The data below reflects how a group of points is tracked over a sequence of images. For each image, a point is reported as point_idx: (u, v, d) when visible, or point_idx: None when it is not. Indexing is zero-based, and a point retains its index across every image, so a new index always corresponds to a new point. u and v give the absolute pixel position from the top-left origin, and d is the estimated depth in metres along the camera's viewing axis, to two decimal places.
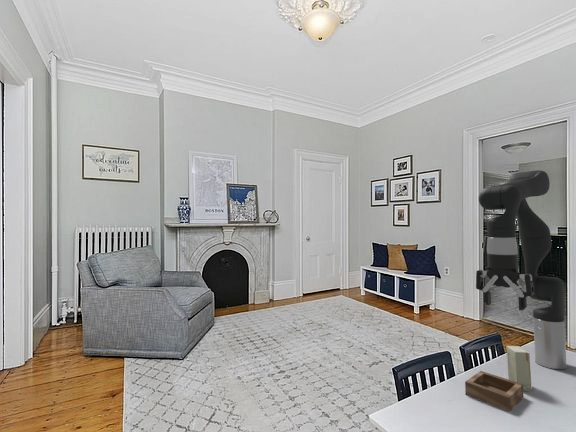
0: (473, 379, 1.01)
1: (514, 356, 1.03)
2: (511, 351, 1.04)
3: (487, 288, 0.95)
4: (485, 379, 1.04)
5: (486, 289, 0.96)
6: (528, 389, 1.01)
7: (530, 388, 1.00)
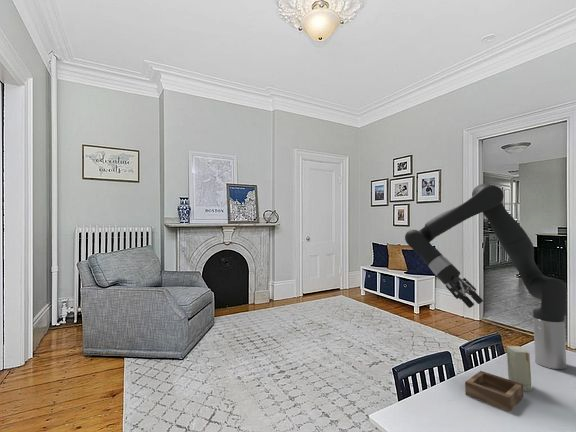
0: (473, 379, 1.01)
1: (514, 356, 1.03)
2: (511, 351, 1.04)
3: None
4: (485, 379, 1.04)
5: None
6: (528, 389, 1.01)
7: (530, 388, 1.00)
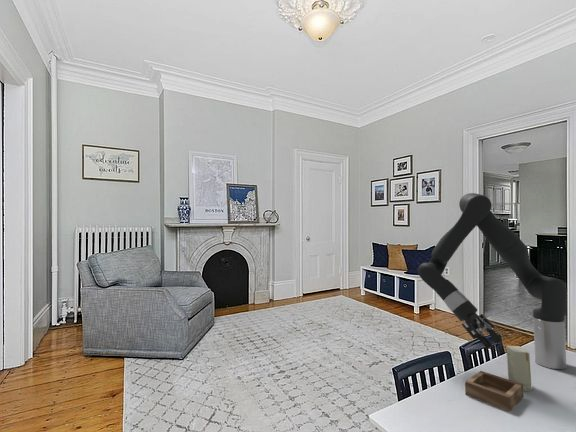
0: (473, 379, 1.01)
1: (514, 356, 1.03)
2: (511, 351, 1.04)
3: None
4: (485, 379, 1.04)
5: None
6: (528, 389, 1.01)
7: (530, 388, 1.00)
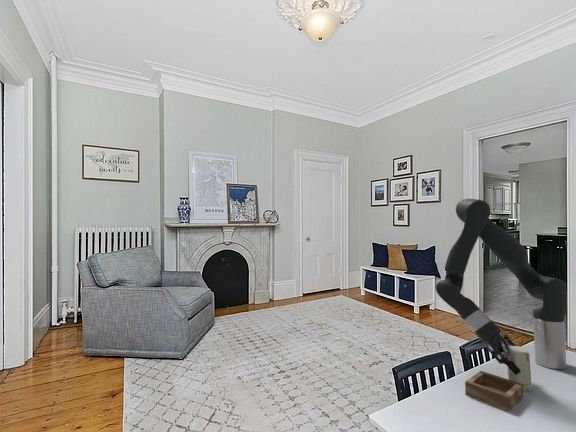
0: (473, 379, 1.01)
1: (514, 356, 1.03)
2: (511, 351, 1.04)
3: None
4: (485, 379, 1.04)
5: None
6: (528, 389, 1.01)
7: (530, 388, 1.00)
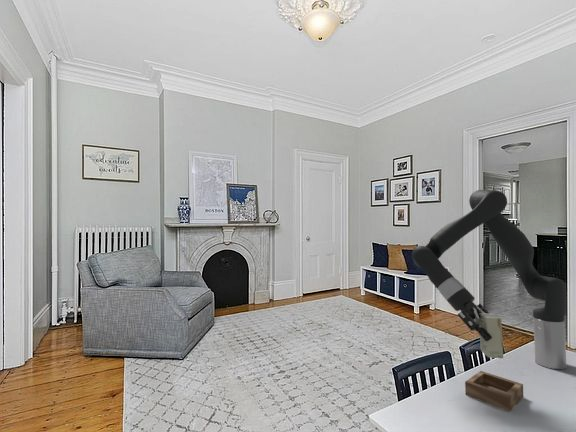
0: (473, 379, 1.01)
1: (485, 323, 0.98)
2: (483, 318, 0.99)
3: None
4: (485, 379, 1.04)
5: None
6: (499, 356, 0.96)
7: (501, 355, 0.96)
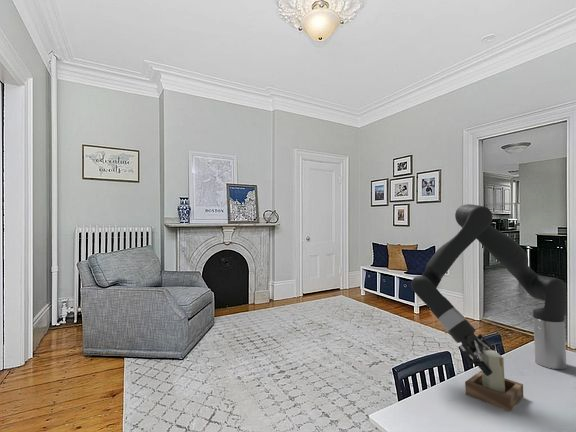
0: (473, 379, 1.01)
1: (487, 361, 0.97)
2: (485, 356, 0.99)
3: None
4: None
5: None
6: None
7: None
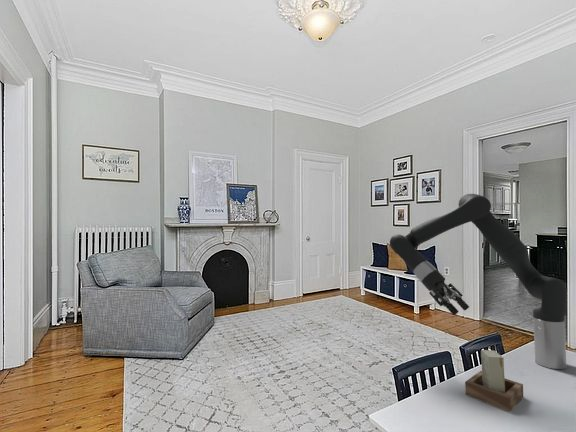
0: (473, 379, 1.01)
1: (487, 361, 0.97)
2: (485, 356, 0.99)
3: None
4: None
5: None
6: None
7: None
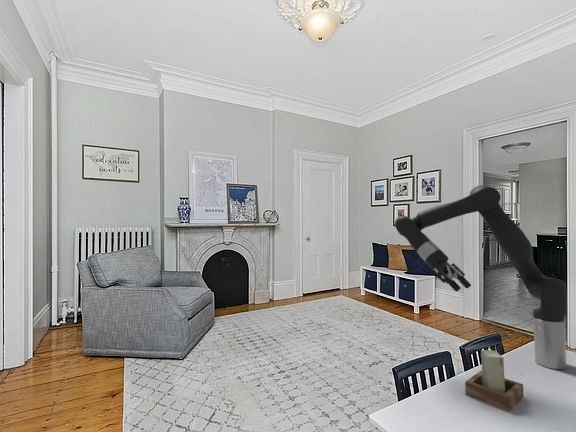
0: (473, 379, 1.01)
1: (487, 361, 0.97)
2: (485, 356, 0.99)
3: None
4: None
5: None
6: None
7: None
